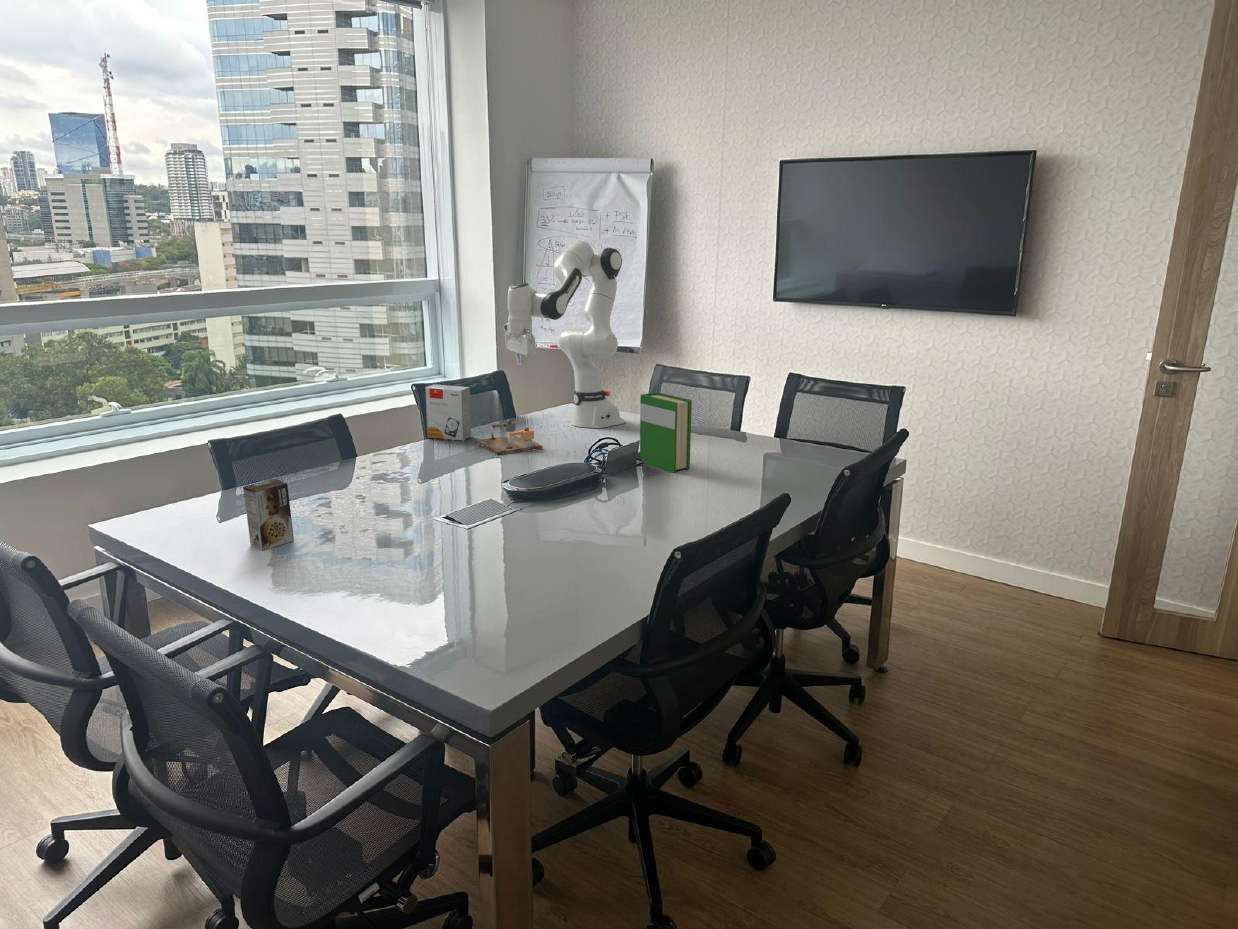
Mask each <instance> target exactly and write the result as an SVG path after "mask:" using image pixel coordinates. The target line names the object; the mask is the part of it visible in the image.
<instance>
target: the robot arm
mask: <svg viewBox="0 0 1238 929" xmlns="http://www.w3.org/2000/svg"><path fill="white" fill-rule="evenodd" d="M622 264H623V258H622V255H621V253H620V251H619V250H617V248H613V247H594V248H592V246H591V245H590V244H589V243H588V242H586V241H585V240H577V241H574V242H573V243H571V244H570V245H569V246H567V247H566V248H565V249H564V250H563V251H562V252H561V253H560V254H559V255H558V256H557V258H555V261H554V263H553V273H554V274H555V276H556V278H557V279H558V280H559V281H560V282H561V284H560V285H559V287H558V288H557V289H556V290H554V291H540V290H536V289H535V288H533V287H532V286H530V283H528V282H517V283H513V284H511V285H509V287H508V291H507V310H508V316H507V317H508V318H507V323H505V324H504V325H503V331H504V344H505V348H506V350H508V351H511V352H513V353H515V357H516V360H517V363H516V364H517V365H518V366H521V367H522V366H525V365H526V359H527V357H532V356H536V354H537V346H536V338H535V335H533V319H532V318H533V317H534V318H541V319H543V318H544V319H549V320H553V321H556V320H559V319H560V318H562V317H563V316H564V314H565V313H566V311H567V308H568V305H569V303H570V302H571V300H572V298H573V297H574V294H576V292H577V290H578V288H579V287H580V285H581V284H582V280H583V278H584V277H585V278H586V277H590V278H591V277H592V278H591V279H592V284H591V286H590V288H589V291H588V293H587V296H586V301H585V305H584V308H583V312H582V313H583V316H584V318H585V319H586V321H588V322H589V323H590V326H589V328H588V329H587V328H569V329H565V330H563V331H562V332H561V334H560V336H559V339H558V340H559V341H558V344H559V348H560V350H561V351H562V352H563V353H564V354H565V355H566V357H567V358H568V359H569V360H568V361H570V363H571V366H572V369H573V375H574V391H573V403H574V405H573V406H574V408H573V414H572V420H571V422H570V424H571V425H572V426H574V427H578V428H592V429H602V428H608V427H612V426H618V425H623V424H625V423H626V420H625V419H624V418H622V417H620V410H619V408H618V407H617V406H616V405H615V404H614V403H612V402H611V401H610V400H608V399H607V398H606V397H610V396H611V391H608V390H604V389H603V388H602V387H603V386H602V385H603V383H602V382H603V380H602V379H603V373H602V370H601V368H599V367H598V366H597V365H595V363H594V362H593V360H592V358H597V359H603V358H604V359H605V358H611V357H613V356H614V355H615V354H616V352H617V350H618V347H619V342H618V338H617V336H616V335H615V334H614V332H613V331H612V328H611V323H610V322H611V316H612V312H613V308H614V303H615V300H616V295H617V288H618V286H617V285H618V283H617V282H618V280H617V279H616V278H617V277H618V275H619V274H620V271H621V268H622Z"/></svg>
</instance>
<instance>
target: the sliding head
mask: <svg viewBox="0 0 1238 929" xmlns="http://www.w3.org/2000/svg"><path fill="white" fill-rule="evenodd" d="M534 432H535V431H534V430H533V429H530V428H529V427H524V429H521V430H520V429H519V430H518V431H515V432H509V433H508V446H509V447H510V446H511V444H510V436H514V435H520V439H522V440H534V438H535V433H534Z"/></svg>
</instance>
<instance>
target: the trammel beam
mask: <svg viewBox="0 0 1238 929" xmlns="http://www.w3.org/2000/svg"><path fill="white" fill-rule="evenodd" d="M495 428H496V429H497V428H503V429H502V430H503V432H505V436H506V437H508V433H509V432H517V431H516V422H515V421H512V420H511V419H507V420H506V422H502V423H494V424H491V429H490V432H491V438H492V439H493V438H495V437H494V434H495V432H494V430H495ZM510 439H512V440H513V441H515V442H517V443H519V444H521V445H523V446H525V447H532V441H533V439H531V440H522V439H520V435H514V436H510Z"/></svg>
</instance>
